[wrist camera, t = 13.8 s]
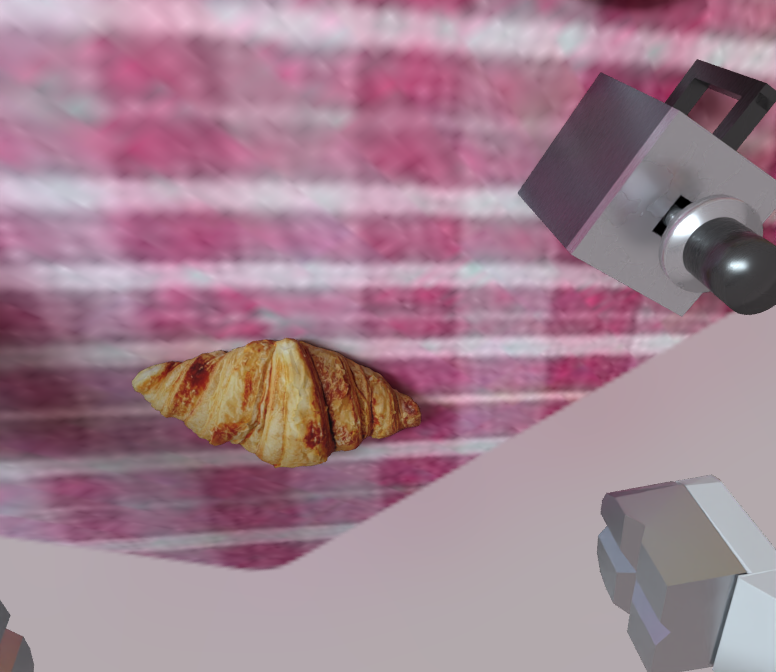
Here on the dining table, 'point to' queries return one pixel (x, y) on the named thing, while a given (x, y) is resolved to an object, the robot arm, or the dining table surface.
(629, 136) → the matte gray cube
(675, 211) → the plunger
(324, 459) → the croissant
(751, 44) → the dining table surface
